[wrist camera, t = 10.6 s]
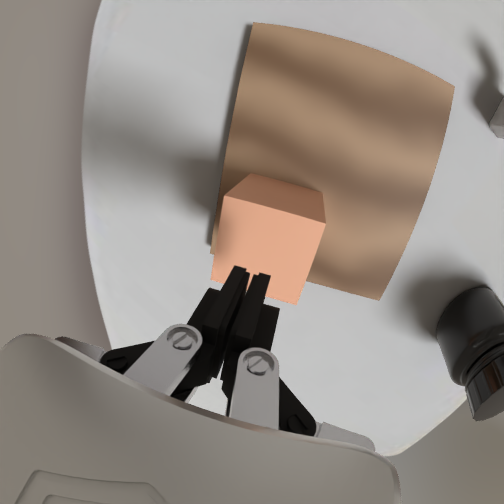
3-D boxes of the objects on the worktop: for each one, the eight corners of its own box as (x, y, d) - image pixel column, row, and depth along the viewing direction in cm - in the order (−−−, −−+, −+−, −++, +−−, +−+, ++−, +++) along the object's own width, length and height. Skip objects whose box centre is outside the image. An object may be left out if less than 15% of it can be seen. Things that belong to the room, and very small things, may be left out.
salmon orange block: (250, 173, 20) (224, 195, 14) (322, 192, 20) (326, 223, 14) (237, 237, 23) (210, 279, 17) (302, 255, 22) (296, 305, 17)
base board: (256, 27, 15) (253, 22, 14) (448, 87, 14) (454, 86, 13) (214, 247, 25) (210, 253, 24) (376, 293, 24) (379, 300, 23)
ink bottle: (477, 344, 24) (505, 418, 13) (424, 349, 26) (444, 435, 15) (506, 281, 19) (556, 353, 9) (451, 281, 21) (500, 371, 11)
